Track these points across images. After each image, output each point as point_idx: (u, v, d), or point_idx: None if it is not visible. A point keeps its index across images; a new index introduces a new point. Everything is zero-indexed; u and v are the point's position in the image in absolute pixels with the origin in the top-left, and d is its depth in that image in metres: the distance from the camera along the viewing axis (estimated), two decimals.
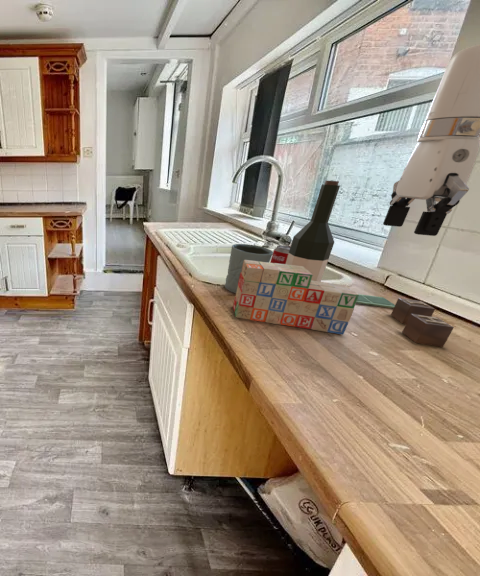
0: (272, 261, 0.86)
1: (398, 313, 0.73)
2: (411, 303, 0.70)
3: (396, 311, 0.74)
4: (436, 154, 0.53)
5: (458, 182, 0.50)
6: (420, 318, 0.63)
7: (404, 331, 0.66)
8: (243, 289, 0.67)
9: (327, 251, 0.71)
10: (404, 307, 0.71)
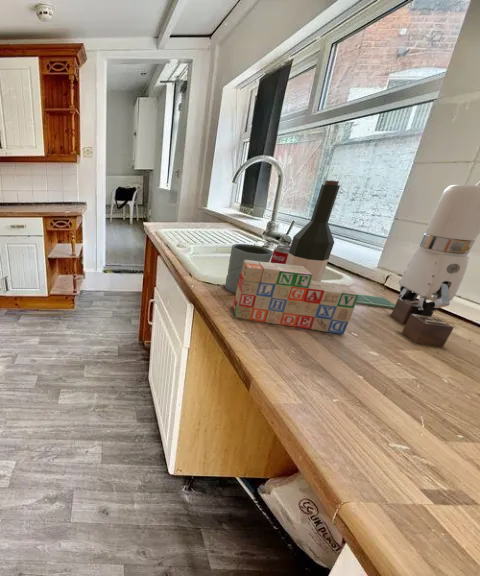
0: (272, 261, 0.86)
1: (398, 313, 0.73)
2: (411, 303, 0.70)
3: (395, 311, 0.74)
4: (434, 264, 0.65)
5: (444, 296, 0.64)
6: (420, 318, 0.63)
7: (404, 331, 0.66)
8: (243, 289, 0.67)
9: (326, 251, 0.71)
10: (404, 307, 0.71)
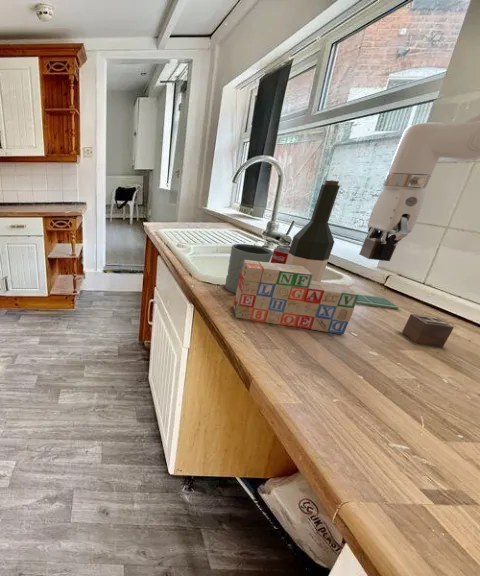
0: (272, 261, 0.86)
1: (365, 251, 0.79)
2: (376, 240, 0.77)
3: (363, 250, 0.80)
4: (394, 199, 0.71)
5: (403, 227, 0.70)
6: (420, 318, 0.63)
7: (404, 331, 0.66)
8: (243, 289, 0.67)
9: (326, 251, 0.71)
10: (370, 244, 0.77)
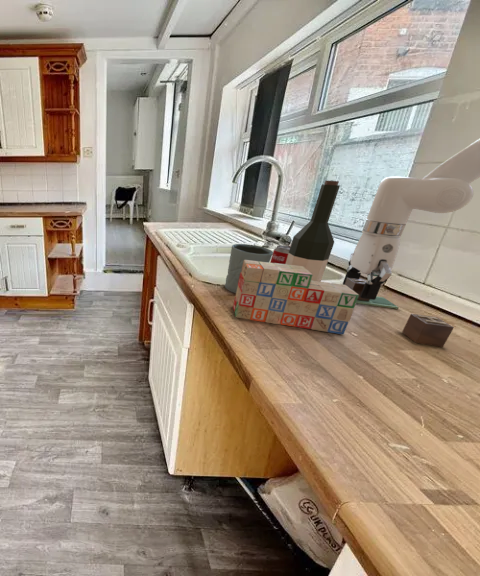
0: (272, 261, 0.86)
1: None
2: (356, 281, 0.82)
3: None
4: (372, 245, 0.76)
5: (385, 267, 0.73)
6: (420, 318, 0.63)
7: (404, 331, 0.66)
8: (243, 289, 0.67)
9: (326, 251, 0.71)
10: (351, 285, 0.82)
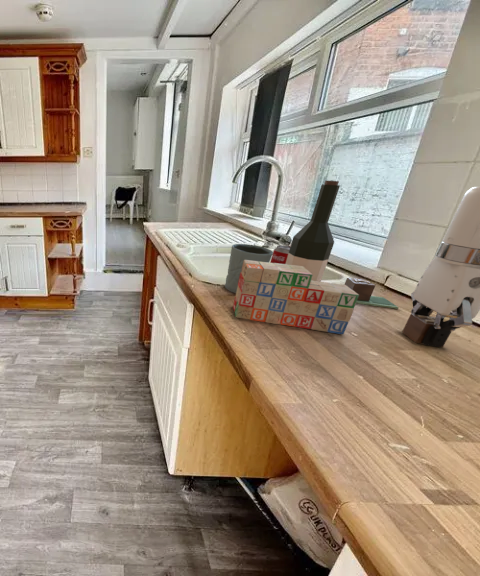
0: (272, 261, 0.86)
1: None
2: (356, 281, 0.82)
3: None
4: (453, 277, 0.57)
5: (466, 314, 0.56)
6: (420, 318, 0.63)
7: (404, 331, 0.66)
8: (243, 289, 0.67)
9: (326, 251, 0.71)
10: (351, 285, 0.82)
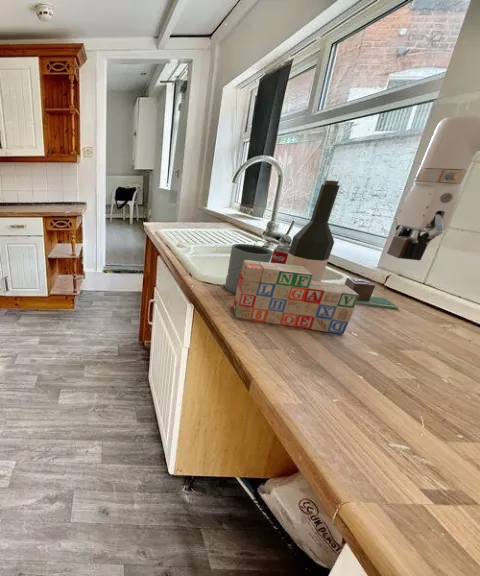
0: (272, 261, 0.86)
1: None
2: (356, 281, 0.82)
3: None
4: (428, 195, 0.68)
5: (438, 225, 0.67)
6: (401, 237, 0.75)
7: (388, 252, 0.78)
8: (243, 289, 0.67)
9: (326, 251, 0.71)
10: (351, 285, 0.82)
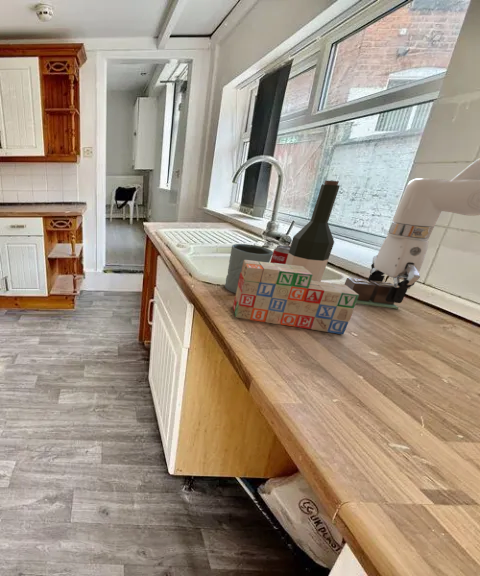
0: (272, 261, 0.86)
1: None
2: (356, 281, 0.82)
3: None
4: (399, 247, 0.75)
5: (413, 270, 0.72)
6: (376, 283, 0.81)
7: None
8: (243, 289, 0.67)
9: (326, 251, 0.71)
10: (351, 285, 0.82)
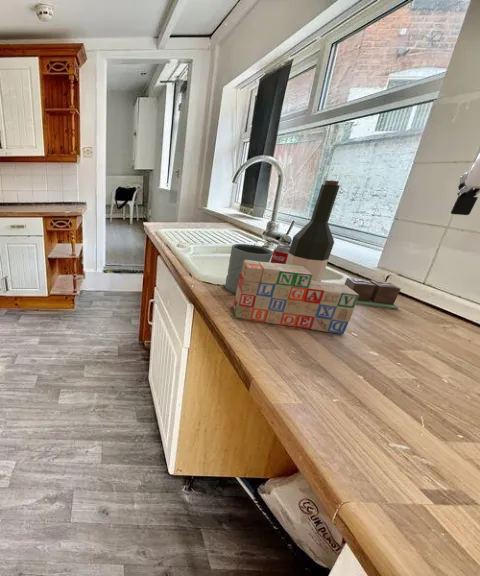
0: (272, 261, 0.86)
1: None
2: (356, 281, 0.82)
3: None
4: None
5: None
6: (376, 283, 0.81)
7: None
8: (243, 289, 0.67)
9: (326, 251, 0.71)
10: (351, 285, 0.82)
